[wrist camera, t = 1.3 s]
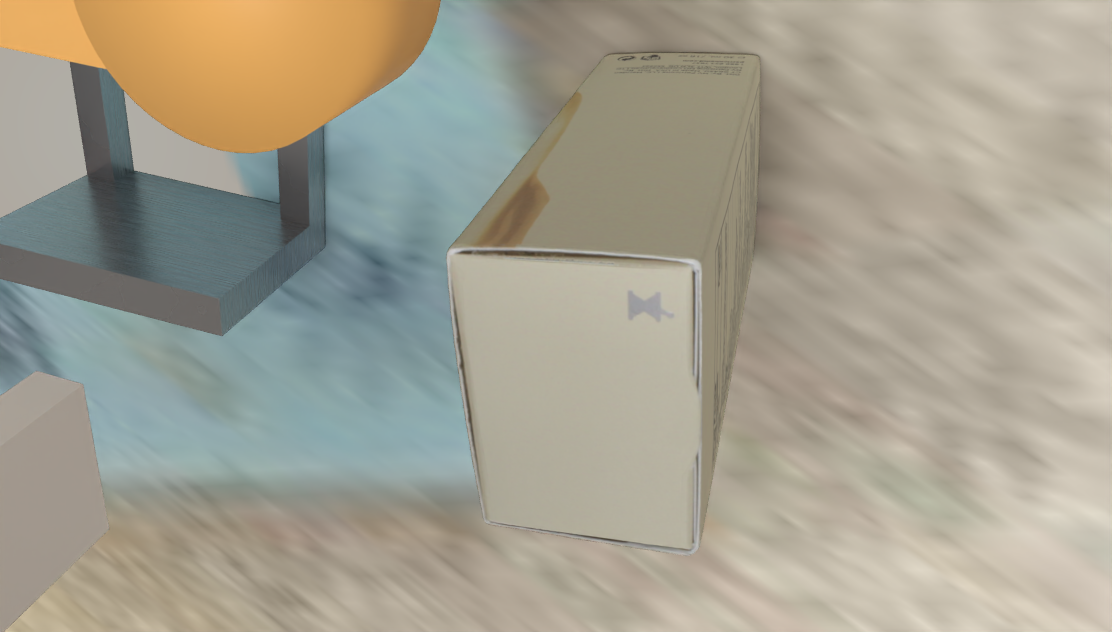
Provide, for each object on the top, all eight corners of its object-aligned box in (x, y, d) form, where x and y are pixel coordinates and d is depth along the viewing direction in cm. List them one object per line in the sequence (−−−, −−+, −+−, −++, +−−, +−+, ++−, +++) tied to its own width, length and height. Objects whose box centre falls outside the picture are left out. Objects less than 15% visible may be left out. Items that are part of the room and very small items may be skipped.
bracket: (112, 197, 32) (-326, 436, 20) (42, -292, 25) (-712, -376, 13) (324, 247, 31) (-9, 535, 19) (316, -256, 23) (-239, -310, 11)
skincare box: (601, 50, 25) (432, 225, 15) (765, 50, 24) (706, 240, 14) (609, 265, 28) (473, 535, 18) (755, 274, 27) (699, 567, 17)
